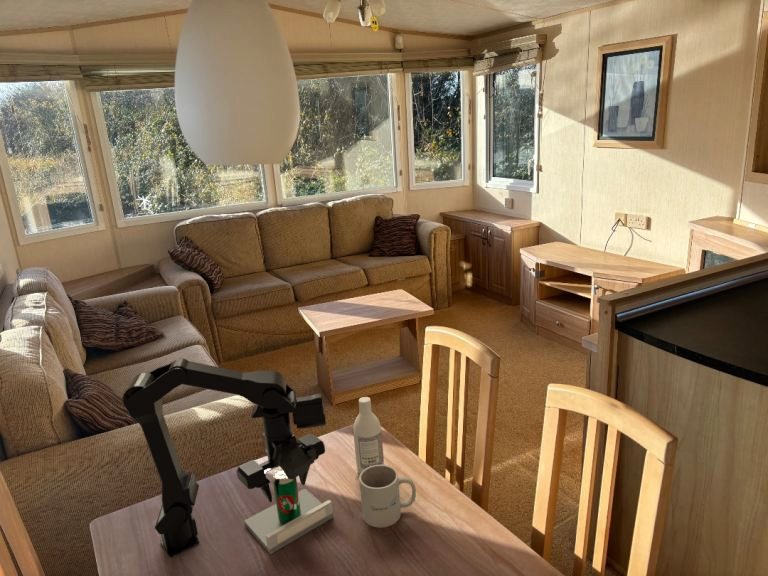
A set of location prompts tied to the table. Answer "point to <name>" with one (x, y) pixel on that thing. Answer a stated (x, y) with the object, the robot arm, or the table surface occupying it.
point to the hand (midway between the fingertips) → (286, 492)
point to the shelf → (279, 534)
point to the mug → (382, 495)
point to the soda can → (286, 497)
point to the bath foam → (367, 437)
